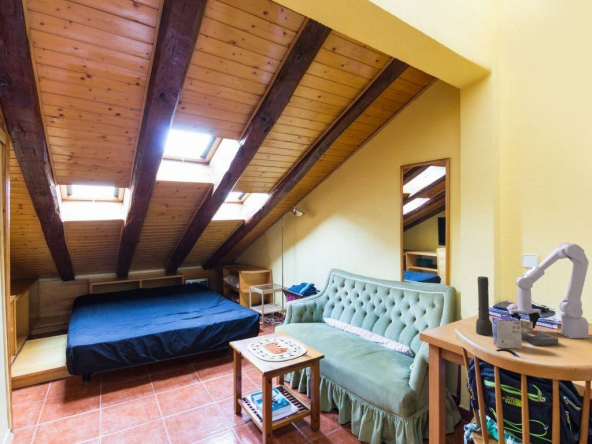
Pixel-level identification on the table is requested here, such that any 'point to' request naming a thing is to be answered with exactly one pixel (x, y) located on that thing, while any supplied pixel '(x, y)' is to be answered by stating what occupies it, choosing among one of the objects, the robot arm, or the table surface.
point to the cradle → (540, 339)
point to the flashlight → (483, 308)
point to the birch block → (526, 326)
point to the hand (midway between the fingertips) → (525, 328)
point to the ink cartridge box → (507, 332)
